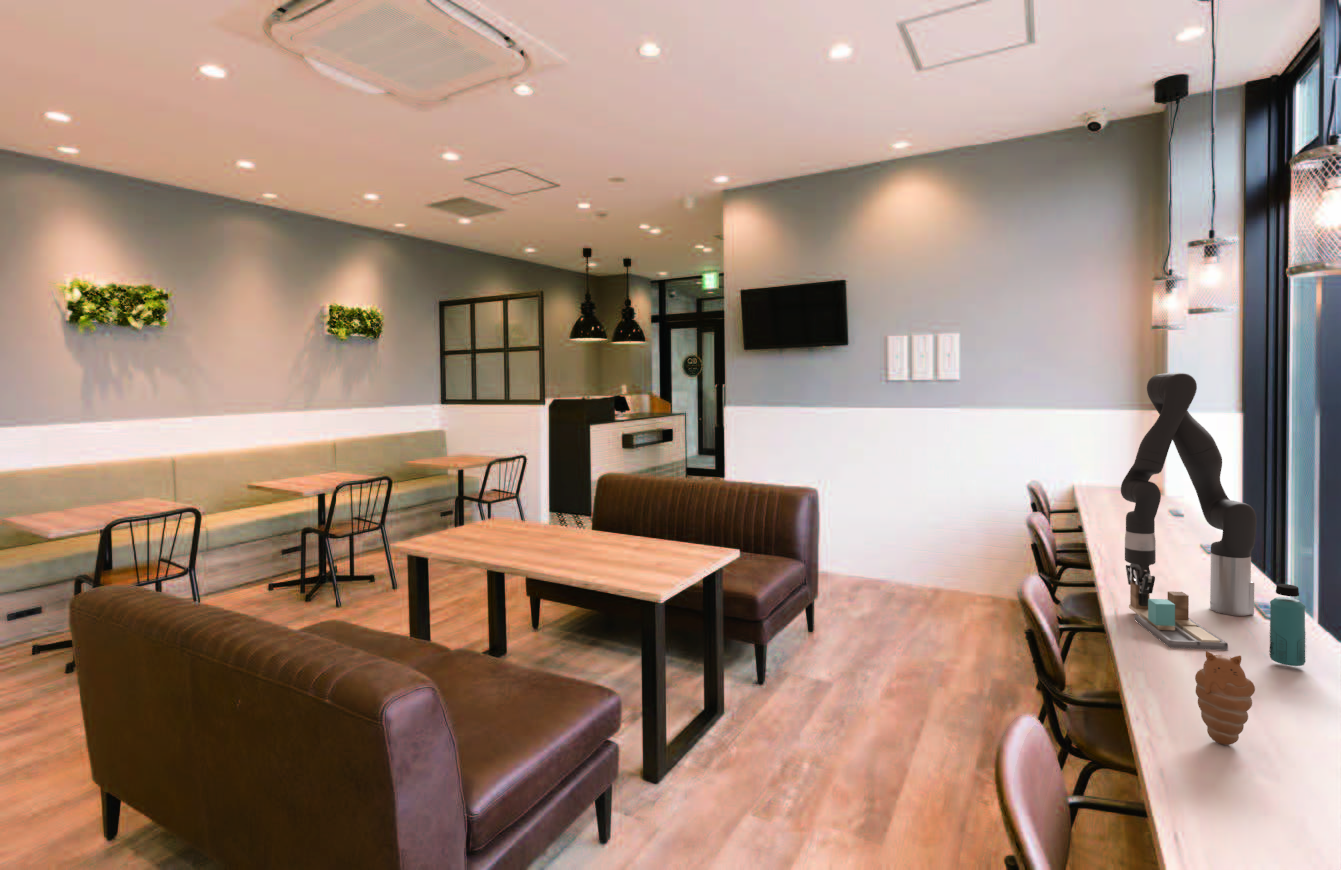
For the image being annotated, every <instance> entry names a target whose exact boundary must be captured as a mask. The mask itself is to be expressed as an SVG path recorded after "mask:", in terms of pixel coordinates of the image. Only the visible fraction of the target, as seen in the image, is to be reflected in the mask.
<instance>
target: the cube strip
mask: <svg viewBox="0 0 1341 870" xmlns="http://www.w3.org/2000/svg"><path fill="white" fill-rule="evenodd" d="M1129 586H1130V587H1129V589H1130V595H1129V596H1130V602H1129V603H1130V604H1129V605H1128V608H1129V609H1130V610H1131V611H1133V612H1134V613H1135V614H1138V615H1139V616H1140V617H1142V618H1143V619H1145V620H1146V621H1147V622H1149V623H1150V624H1151V625H1153V626H1154V627H1155V628H1157V629H1158V630H1175V626H1163V625H1155V624H1153V623H1152V622H1151V621H1149V620H1148V606H1140V605H1139V604H1138V593H1139V592H1138V586H1137V585H1136V582H1135V583H1133V582H1130V585H1129ZM1141 588H1142V586H1141ZM1145 589H1146V588H1145ZM1150 594H1151V593H1149V594H1148V599H1150Z"/></svg>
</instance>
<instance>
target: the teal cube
mask: <svg viewBox="0 0 1341 870" xmlns="http://www.w3.org/2000/svg"><path fill="white" fill-rule="evenodd" d="M1148 620H1149V621H1151V622H1152V623H1153V624H1155V625H1163V626H1175V604H1173V603H1172V602H1170V601H1169V600H1168V598H1166V599H1164V598H1149V599H1148Z"/></svg>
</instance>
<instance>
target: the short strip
mask: <svg viewBox="0 0 1341 870" xmlns="http://www.w3.org/2000/svg"><path fill="white" fill-rule="evenodd" d="M1167 600H1169V601H1170V602H1172V603H1173V604H1175V625H1176V626H1178V627H1179V628H1183V626H1188V627H1197V625H1196V624H1194V623H1193V622H1191V621H1190V620H1188V618H1189V610H1190V608H1189V607H1190V606H1189V600H1190V599H1189V595H1188V594H1186V593H1185V592H1183V591H1167Z"/></svg>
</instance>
